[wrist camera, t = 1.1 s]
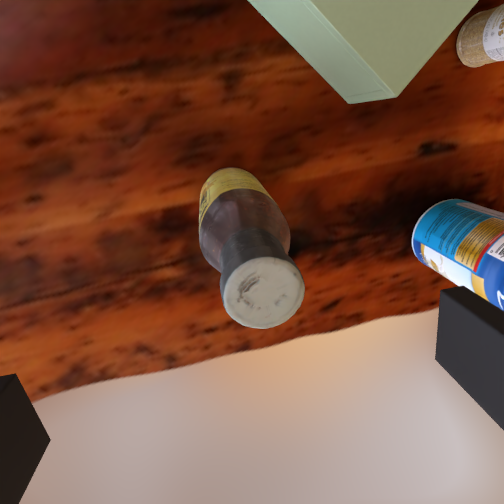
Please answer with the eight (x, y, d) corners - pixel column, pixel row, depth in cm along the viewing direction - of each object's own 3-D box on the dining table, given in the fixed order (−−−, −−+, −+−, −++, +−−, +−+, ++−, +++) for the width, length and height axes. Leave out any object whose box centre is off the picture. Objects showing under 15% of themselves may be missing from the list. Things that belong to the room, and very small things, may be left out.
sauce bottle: (191, 177, 32) (168, 246, 14) (251, 156, 32) (307, 199, 14) (213, 236, 35) (219, 362, 17) (269, 217, 35) (337, 322, 17)
